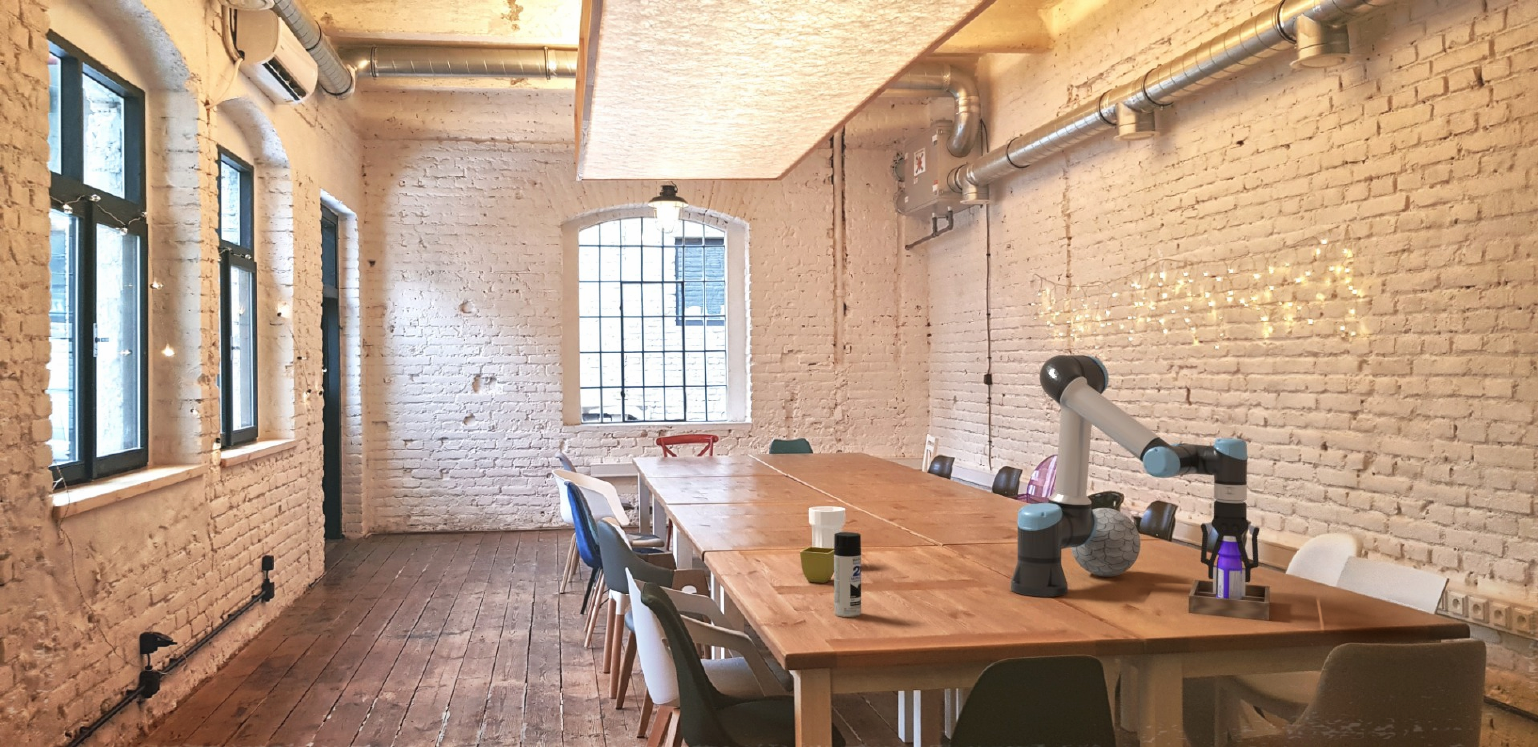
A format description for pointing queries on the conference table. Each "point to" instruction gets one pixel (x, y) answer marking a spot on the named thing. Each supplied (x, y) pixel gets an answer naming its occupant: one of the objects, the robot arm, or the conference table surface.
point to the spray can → (847, 574)
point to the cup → (826, 524)
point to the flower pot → (817, 563)
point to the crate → (1230, 602)
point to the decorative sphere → (1109, 545)
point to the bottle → (1229, 569)
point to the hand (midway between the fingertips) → (1229, 593)
